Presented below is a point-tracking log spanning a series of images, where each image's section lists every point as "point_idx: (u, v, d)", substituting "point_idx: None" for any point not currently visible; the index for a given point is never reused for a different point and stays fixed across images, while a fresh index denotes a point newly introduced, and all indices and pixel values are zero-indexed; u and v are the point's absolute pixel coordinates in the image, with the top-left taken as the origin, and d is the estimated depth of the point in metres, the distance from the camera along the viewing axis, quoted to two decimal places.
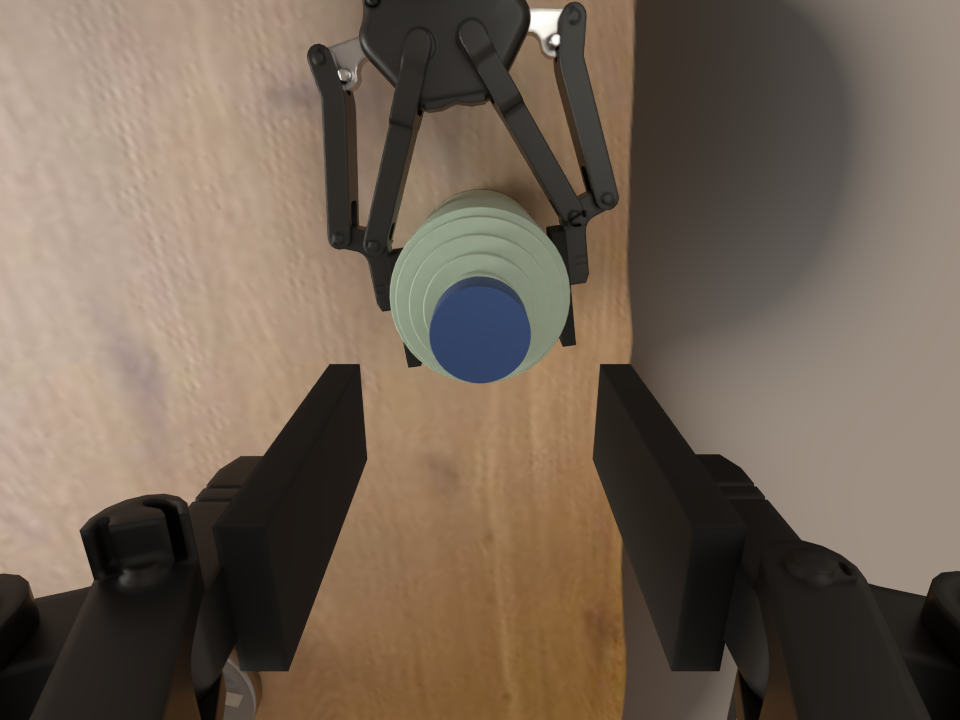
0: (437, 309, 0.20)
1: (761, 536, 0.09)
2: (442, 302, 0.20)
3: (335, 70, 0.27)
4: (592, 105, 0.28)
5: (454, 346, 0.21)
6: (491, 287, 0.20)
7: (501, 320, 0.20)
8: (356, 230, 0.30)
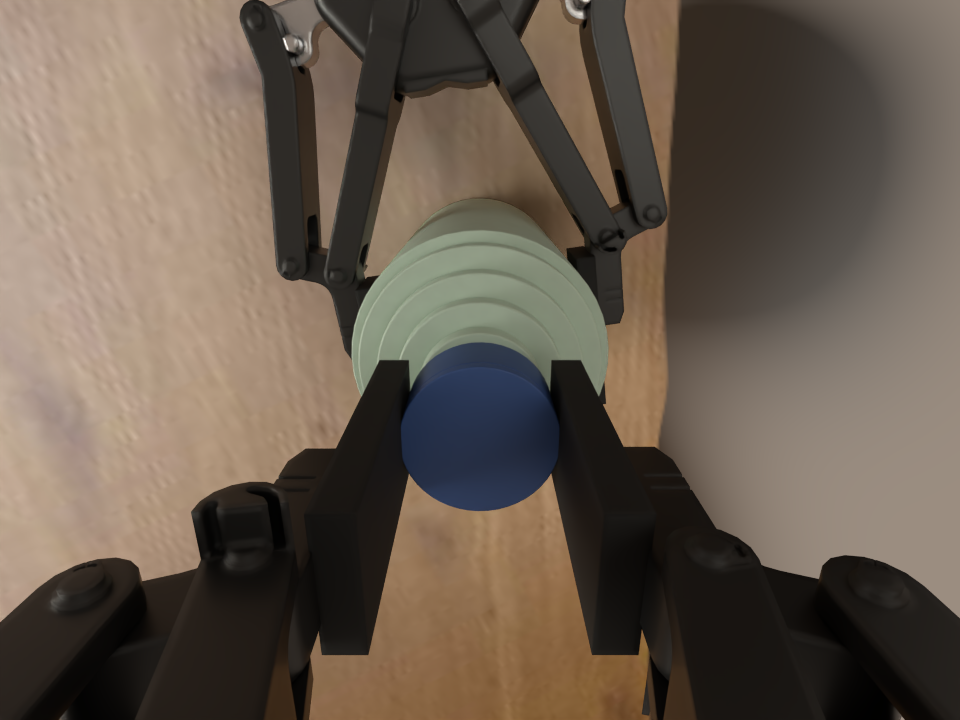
0: (411, 402, 0.13)
1: (677, 523, 0.09)
2: (419, 391, 0.12)
3: (279, 37, 0.20)
4: (634, 86, 0.20)
5: (439, 457, 0.13)
6: (498, 368, 0.12)
7: (514, 419, 0.13)
8: (315, 255, 0.23)
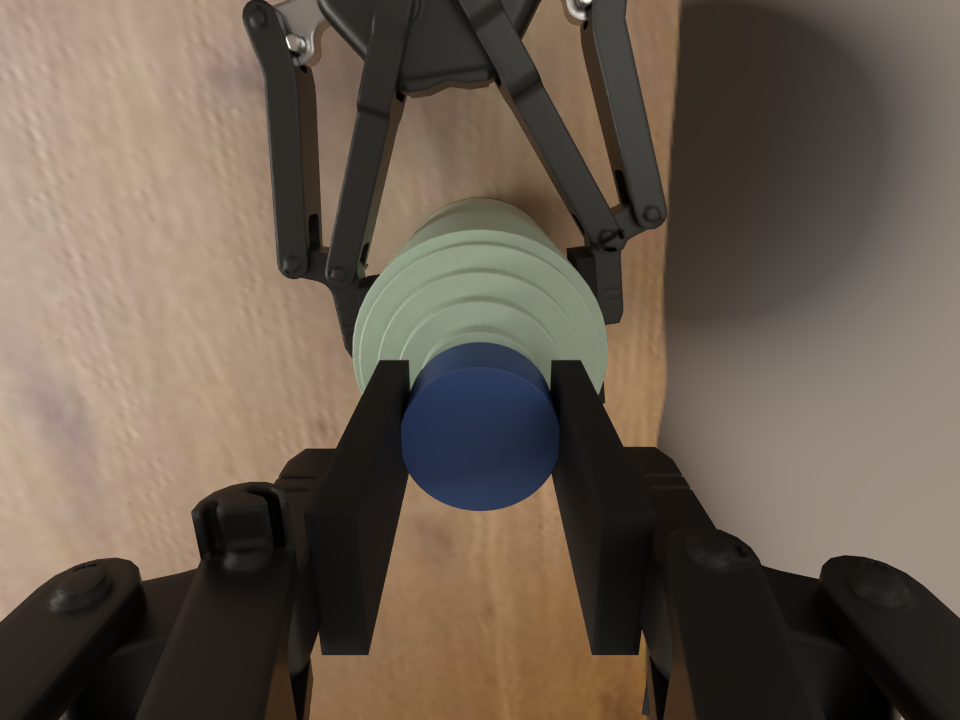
0: (459, 506, 0.13)
1: (677, 524, 0.09)
2: (446, 502, 0.13)
3: (282, 36, 0.20)
4: (635, 87, 0.20)
5: (507, 472, 0.13)
6: None
7: (444, 420, 0.13)
8: (316, 253, 0.23)
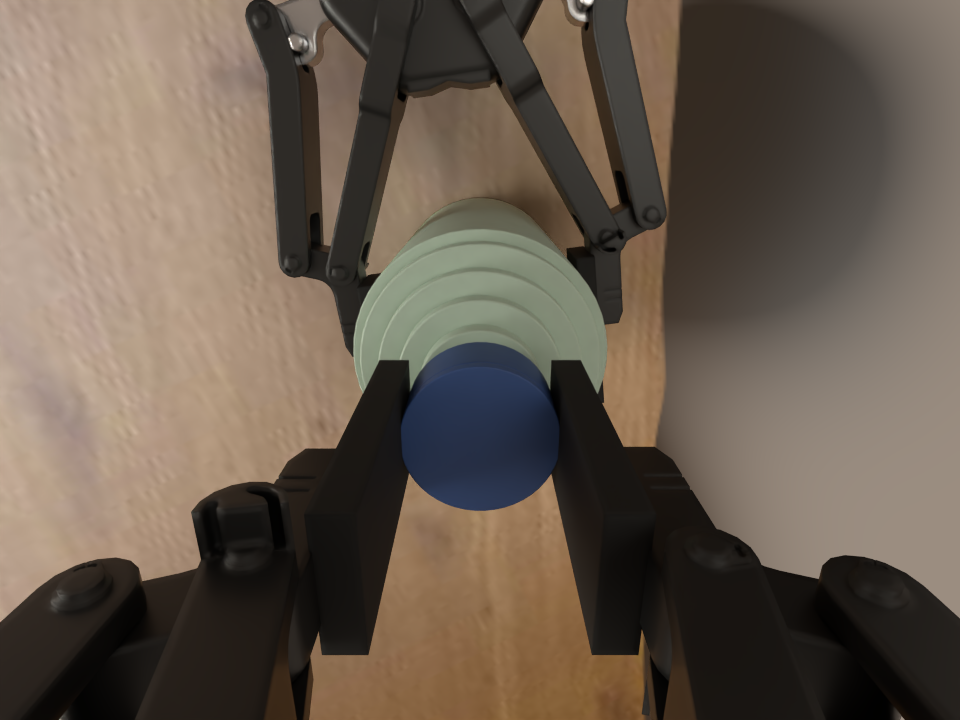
0: None
1: (677, 524, 0.09)
2: None
3: (284, 36, 0.20)
4: (635, 88, 0.20)
5: (505, 409, 0.13)
6: (509, 504, 0.13)
7: (467, 477, 0.13)
8: (317, 252, 0.23)
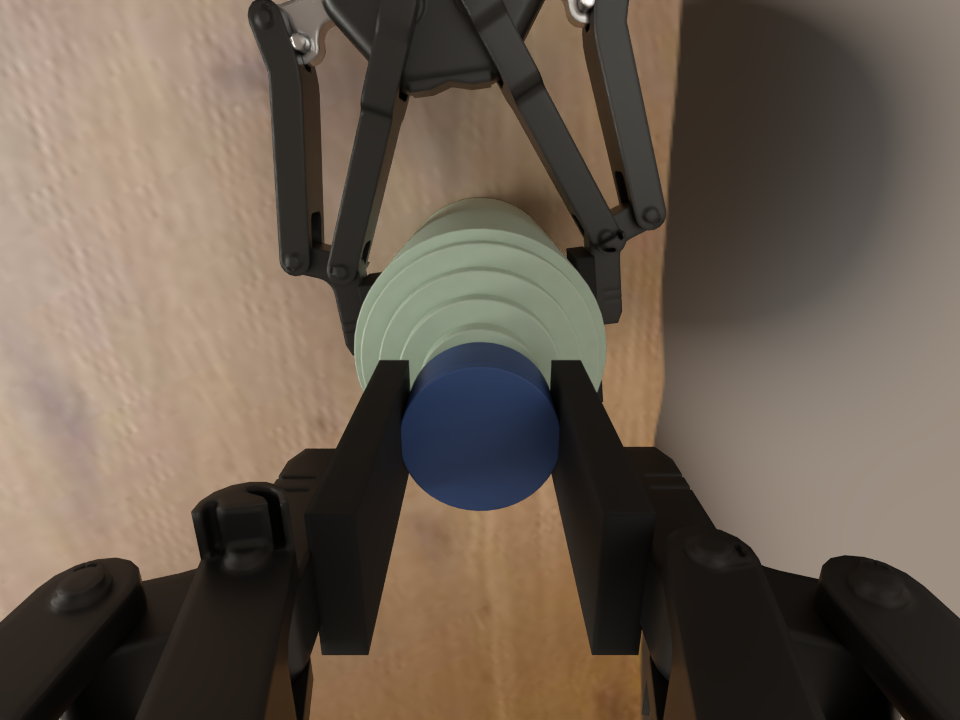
0: (453, 371, 0.12)
1: (677, 524, 0.09)
2: (467, 367, 0.12)
3: (287, 35, 0.20)
4: (636, 89, 0.21)
5: (437, 432, 0.13)
6: (544, 395, 0.12)
7: (523, 442, 0.13)
8: (318, 251, 0.23)
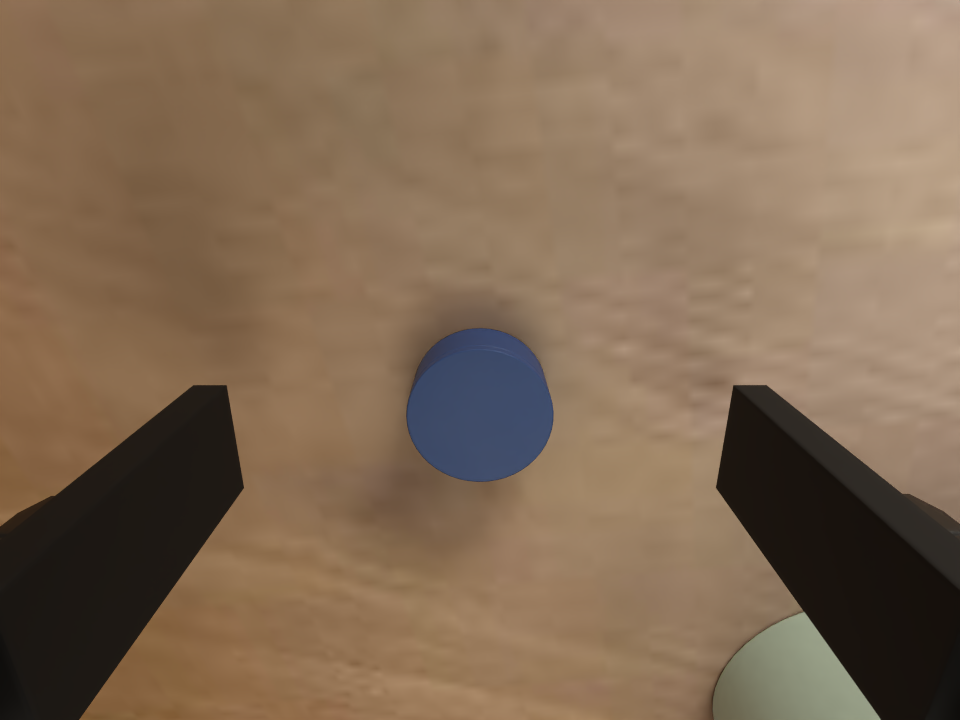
0: (455, 353, 0.14)
1: None
2: (468, 350, 0.14)
3: None
4: None
5: (441, 409, 0.14)
6: (537, 375, 0.14)
7: (518, 418, 0.14)
8: None
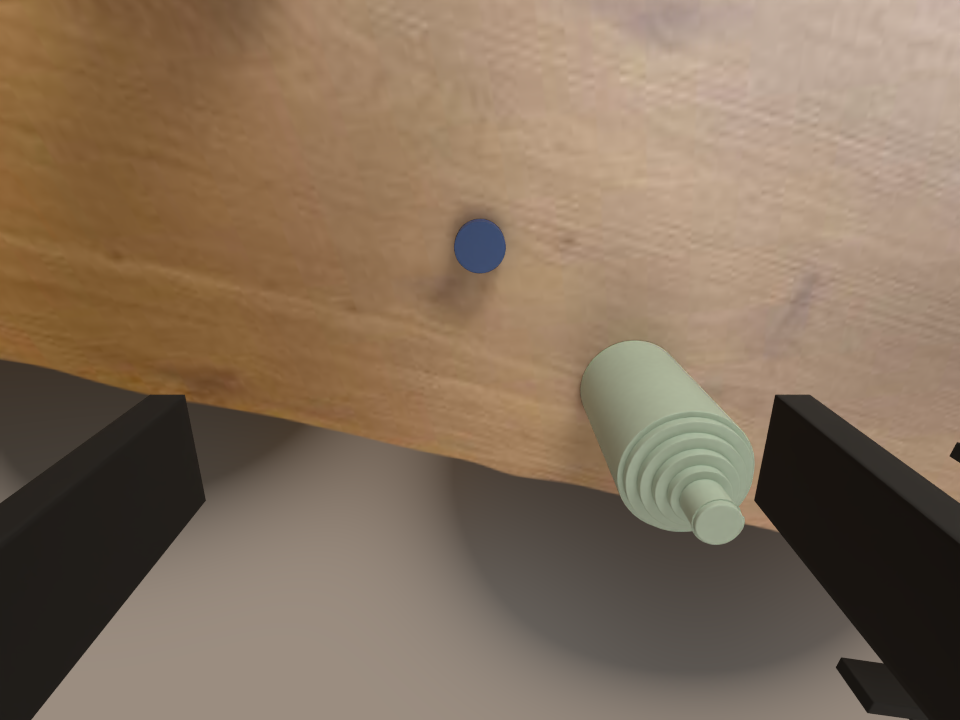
0: (471, 223, 0.40)
1: None
2: (476, 222, 0.40)
3: None
4: None
5: (466, 244, 0.40)
6: (499, 231, 0.40)
7: (493, 247, 0.41)
8: None
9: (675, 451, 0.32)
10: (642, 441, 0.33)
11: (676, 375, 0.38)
